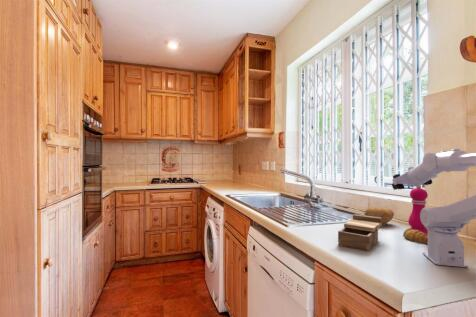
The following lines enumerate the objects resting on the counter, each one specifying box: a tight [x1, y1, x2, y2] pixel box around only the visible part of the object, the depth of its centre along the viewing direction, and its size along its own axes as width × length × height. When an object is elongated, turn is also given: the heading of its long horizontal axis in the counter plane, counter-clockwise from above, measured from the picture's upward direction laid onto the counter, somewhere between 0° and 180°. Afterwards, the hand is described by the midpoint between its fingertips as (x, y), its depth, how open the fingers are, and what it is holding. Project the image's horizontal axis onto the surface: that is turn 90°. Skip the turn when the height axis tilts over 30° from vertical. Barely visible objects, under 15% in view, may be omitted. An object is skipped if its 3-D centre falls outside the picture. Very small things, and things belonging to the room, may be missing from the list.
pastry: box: [402, 227, 428, 245], centre depth 98 cm, size 9×7×4 cm
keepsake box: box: [337, 227, 379, 253], centre depth 94 cm, size 12×10×5 cm
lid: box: [343, 213, 383, 232], centre depth 99 cm, size 12×10×3 cm
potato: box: [363, 206, 395, 226], centre depth 122 cm, size 10×14×8 cm
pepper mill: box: [408, 185, 429, 235], centre depth 107 cm, size 7×7×20 cm
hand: (403, 185), depth 102 cm, fingers open, 7 cm apart
